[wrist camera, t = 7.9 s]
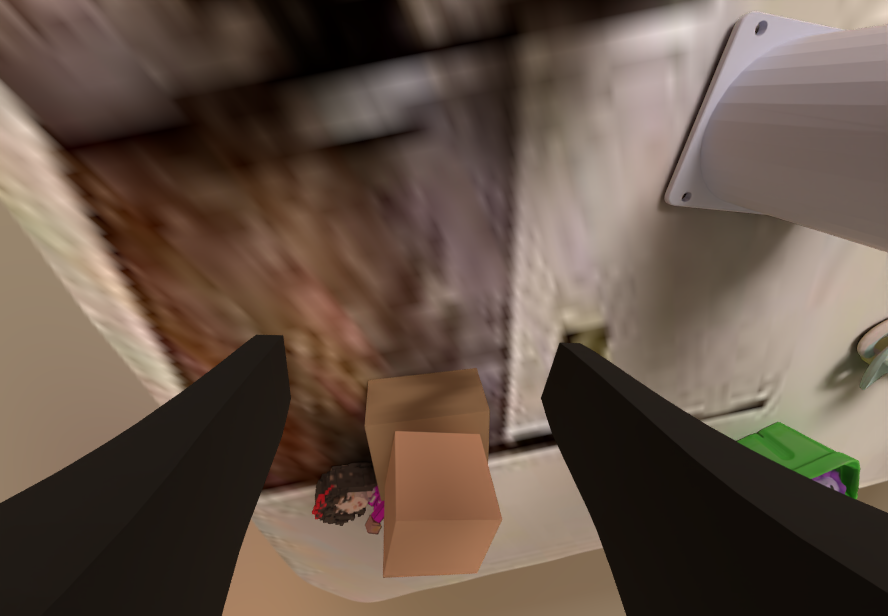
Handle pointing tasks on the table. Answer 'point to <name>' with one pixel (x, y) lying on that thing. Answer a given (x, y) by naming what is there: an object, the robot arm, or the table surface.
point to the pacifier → (874, 353)
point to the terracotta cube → (438, 505)
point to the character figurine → (349, 496)
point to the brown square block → (423, 411)
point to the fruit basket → (806, 457)
